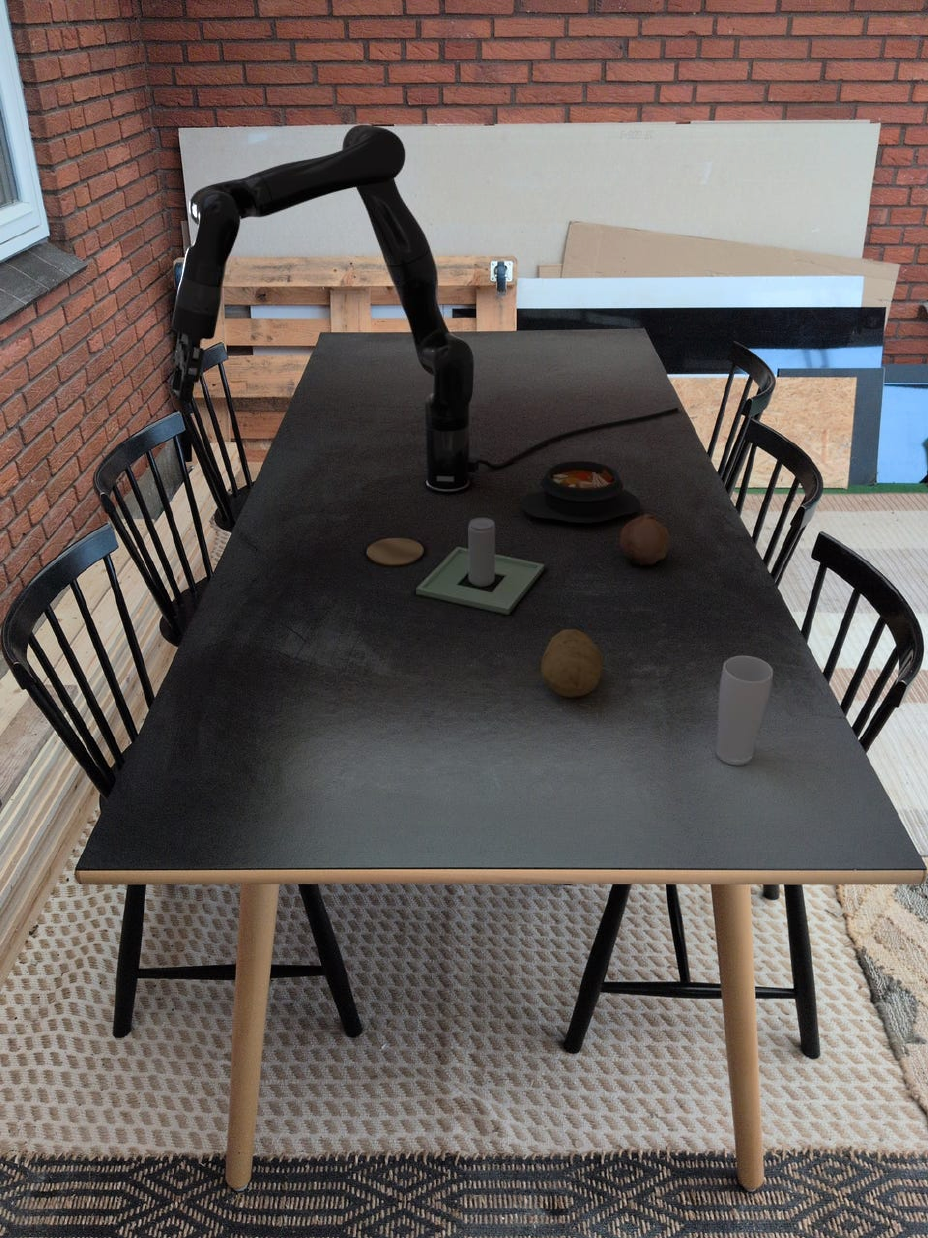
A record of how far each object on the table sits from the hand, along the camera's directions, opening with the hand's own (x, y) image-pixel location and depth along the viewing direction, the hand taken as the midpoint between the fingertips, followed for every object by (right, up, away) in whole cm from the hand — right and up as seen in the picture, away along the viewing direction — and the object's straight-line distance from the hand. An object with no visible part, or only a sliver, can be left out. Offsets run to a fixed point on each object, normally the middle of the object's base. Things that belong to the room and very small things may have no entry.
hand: (180, 395), depth 189 cm
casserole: (+76, -18, +28) cm, 83 cm away
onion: (+86, -30, +9) cm, 91 cm away
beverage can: (+55, -34, +3) cm, 65 cm away
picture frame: (+55, -34, +2) cm, 65 cm away
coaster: (+38, -28, +13) cm, 49 cm away
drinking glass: (+90, -60, -41) cm, 116 cm away
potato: (+68, -51, -26) cm, 89 cm away
